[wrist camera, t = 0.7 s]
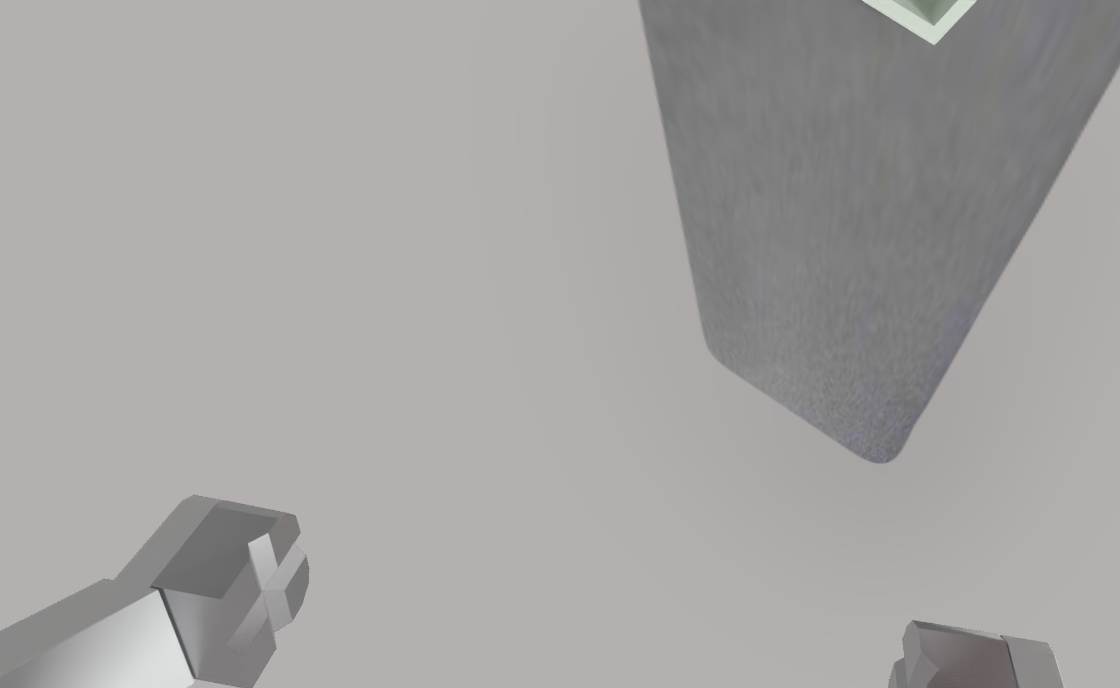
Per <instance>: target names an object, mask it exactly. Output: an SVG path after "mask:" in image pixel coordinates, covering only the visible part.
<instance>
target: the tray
mask: <svg viewBox="0 0 1120 688" xmlns="http://www.w3.org/2000/svg"><path fill="white" fill-rule="evenodd" d="M862 1H864V2H865V3H867V4H868V5H870V6H872V7H873V8H875V9H877V10H878V11H880V12H881V13H883V14H885V15H886V16H888V17H890V18H891V19H893V20H894V21H896V22H898V23H899V24H901V25H902V26H904V27H906V28H907V29H909V30H911V31H912V32H914V33H915V34H917V35H919V36H920V37H922V38H924V39H925V40H927V41H928V42H930V43H932V44H933V45H935V44H936V43H937V42H938V41H939V40H940V39H941V38H942V37H943V36H944V35H945V33H946V32H947V31H948V30H949V29H950V28H951V27H952V26H953V25H954V24H955V23H956V22H957V21H958V20H959V19H960V18H961V17H962V15H963V14H964V13H965V12H966V11H967V10H968V9H969V8H970V7H971V6H972V5H973V4H974V3H975V2H976V1H977V0H862Z"/></svg>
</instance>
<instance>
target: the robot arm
mask: <svg viewBox="0 0 1120 688" xmlns="http://www.w3.org/2000/svg"><path fill="white" fill-rule="evenodd" d="M299 534H300V529H299V525H298V522H297V519H296V516H295V515H292V514H289V513H285V512H280V511H275V510H270V509H265V508H260V507H255V506H250V505H245V504H240V503H235V502H231V501H226V500H225V501H224V500H219V499H214V498H208V497H203V496H198V495H192V496H190V497H189V498H186V499H185V500H183V501H182V502H181V503H180V504H179V505H178V506H177V507H176V508H175V509H174V511H173V512H172V513H171V514H170V515H169V516H168V518H167V519H166V520H165V521H164V522H163V523H162V525H161V526H160V527H159V528H158V529H157V530H156V532H155V533H154V534H153V535H152V536H151V537H150V539H149V540H148V541H147V542H146V543H145V544H144V545H143V547H142V548H141V549H140V550H139V551H138V553H137V554H136V555H135V556H134V557H133V558H132V559H131V561H130V562H129V563H128V564H127V565H126V566H125V568H124V569H123V570H122V571H121V572H120V573H119V575H118V576H117V577H116V578H115V579H114V580H109V579H102V580H100V581H98V582H97V583H95V584H93V585H91V586H89V587H87V588H85V589H83V590H81V591H79V592H77V593H75V594H73V595H71V596H69V597H67V598H65V599H63V600H61V601H59V602H57V603H55V604H53V605H51V606H49V607H47V608H45V609H43V610H41V611H39V612H37V613H35V614H33V615H31V616H29V617H27V618H25V619H24V620H21V621H19V622H17V623H15V624H13V625H12V626H10V627H8V628H5V629H3V630H1V631H0V688H188V687H189V686H190V685H192V684H193V683H194V679H198V680H204V681H209V682H214V683H220V684H225V685H231V686H236V687H241V688H253V686H254V684H255V683H256V681H257V680H258V678H259V676H260V675H261V673H262V671H263V669H264V668H265V666H266V664H267V663H268V661H269V660H270V658H271V656H272V655H273V653H274V651H275V650H276V643H275V636H274V632H276V631H278V630H279V629H281V628H283V627H284V626H286V625H287V624H289V623H291V622H292V621H293V619H294V618H295V616H296V614H297V612H298V611H299V609H300V607H301V605H302V603H303V600H304V596H305V593H306V590H307V587H308V583H309V566H308V562H307V557H306V554H304V552H303V551H302V550H301V549H300V548H299V547H298V546H297V545H296V544H295V543H294V542H295V541H296V539H297V537H298V536H299ZM902 640H903V649H904V658H902V659H901V660H899V661H897V662H895V663H894V666H893V669H892V673H891V676H890V679H889V685H888V688H1065V685H1064V682H1063V679H1062V676H1061V673H1060V669H1059V666H1058V663H1057V660H1056V656H1055V653H1054V651H1053V649H1052V648H1051V647H1050V646H1049V644H1048V643H1045V642H1039V641H1033V640H1027V639H1021V638H1015V637H1009V636H1004V635H1000V636H999V635H998V634H995V633H989V632H983V631H977V630H970V629H964V628H958V627H952V626H945V625H940V624H933V623H927V622H920V621H914V620H912V621H911V622H910V624H909V625H908V626H907V628H906V631H905V634H904V637H903V639H902Z"/></svg>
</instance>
